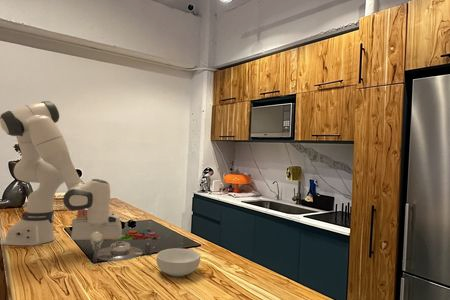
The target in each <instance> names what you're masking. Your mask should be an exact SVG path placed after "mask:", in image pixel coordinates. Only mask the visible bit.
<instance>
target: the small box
mask: <svg viewBox="0 0 450 300" xmlns="http://www.w3.org/2000/svg"><path fill="white" fill-rule="evenodd" d="M87 211H88V209H82V210H77V213H76V217H79V218H81V217H87Z"/></svg>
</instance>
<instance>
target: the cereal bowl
mask: <svg viewBox="0 0 450 300" xmlns="http://www.w3.org/2000/svg"><path fill="white" fill-rule="evenodd" d="M200 260H201V254H200V253H199V252H197V251H194V250H192V249H188V248H180V247H179V248H176V247H175V248H167V249H163V250H160V251H158V252H157V254H156V265H157V267H158V268H159V270H160V271H162V272H163V273H165V274H167V275H168V276H170V277H185V276H187V275H188V274H190V273H193V272H195V270H197V268H198V267H199V265H200V262H201V261H200Z"/></svg>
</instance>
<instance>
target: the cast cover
mask: <svg viewBox="0 0 450 300" xmlns="http://www.w3.org/2000/svg"><path fill="white" fill-rule="evenodd" d="M130 246H131V243H129V242H128V241H126V240H116V242H113V243H111V244H110V247H111V251H110V254H112V255H116V256H121V255H126V254H129V253H130Z"/></svg>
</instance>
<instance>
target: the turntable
mask: <svg viewBox="0 0 450 300" xmlns="http://www.w3.org/2000/svg"><path fill="white" fill-rule="evenodd" d="M110 251H111V246H107V247H103V248H100V249H98V250H97V259H98V260H99V259H100V260H103V261H110V262H111V261H112V262H115V261H116V262H119V261H127V260H128V261H129V260H132V259H136V258H138V257H140V256H142V255H143V253H144V255H145V256H151V255H152V243H151V242H145V243H144V250H142V249H141V248H139V247H135V246H132V245H130V253H129V254H126V255H121V256H116V255H112V254H110ZM143 251H144V252H143Z"/></svg>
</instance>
